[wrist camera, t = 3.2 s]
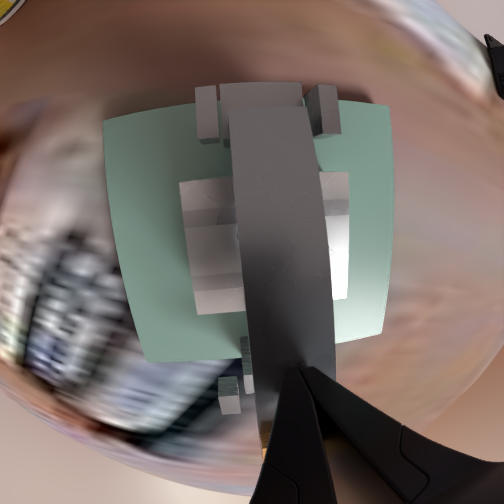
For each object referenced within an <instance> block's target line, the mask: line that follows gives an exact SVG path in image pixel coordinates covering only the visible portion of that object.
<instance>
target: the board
mask: <svg viewBox="0 0 504 504" xmlns="http://www.w3.org/2000/svg"><path fill="white" fill-rule="evenodd" d="M217 101H218V116H219V131H220V143H215V144H206V145H202V144H201V142H200V141H199V140H198V135H197V119H196V103H190V104H183V105H176V106H169V107H163V108H158V109H152V110H147V111H142V112H137V113H132V114H128V115H123V116H119V117H115V118H111V119H107V120H103V143H104V159H105V171H106V181H107V191H108V199H109V206H110V213H111V220H112V226H113V232H114V238H115V244H116V249H117V254H118V259H119V264H120V268H121V273H122V277H123V282H124V286H125V290H126V294H127V298H128V302H129V305H130V309H131V313H132V316H133V320H134V323H135V327H136V330H137V333H138V337H139V340H140V343H141V346H142V349H143V352H144V355H145V358H146V361H147V362H181V361H202V360H217V359H229V358H240V357H242V356H241V346H240V337H244V336H248V331H247V322H246V312H245V311H237V312H226V313H215V314H202V315H197V309H196V303H195V297H194V292H193V286H192V279H191V273H190V266H189V259H188V252H187V245H186V238H185V230H184V222H183V214H182V204H181V195H180V185H179V183H180V182H184V181H188V180H195V179H204V178H213V177H224V176H233V175H232V163H231V151H230V147H224V144H223V131H222V117H221V102H220V100H217ZM338 103H339V113H340V123H341V134H340V135H337V136H333V137H329V138H326V139H313V141H314V146H315V152H316V157H317V163H318V169H319V171H338V172H348V177H349V256H348V277H347V293H346V298H339V299H333V306H334V326H335V344H336V343H341V342H346V341H351V340H355V339H360V338H364V337H369V336H373V335H377V334H381V332H382V326H383V320H384V314H385V308H386V301H387V294H388V286H389V277H390V268H391V257H392V243H393V224H394V162H393V143H392V130H391V120H390V111H389V106H385V105H379V104H371V103H364V102H355V101H345V100H338ZM303 104H304V107H305V103H304V98H303Z"/></svg>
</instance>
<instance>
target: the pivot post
mask: <svg viewBox="0 0 504 504" xmlns="http://www.w3.org/2000/svg"><path fill="white" fill-rule="evenodd" d="M219 86H220V102H221V117H222V131H223V144H224V147H230V139H229V126H228V109H230V108H245V107H274V106H297V107H304V104H303V94H302V85H301V82H242V83H226V84H219ZM195 102H196V119H197V135H198V140H199V141H200V142H201V144H202V145H206V144H215V143H220V131H219V116H218V101H217V91H216V85H212V86H203V87H195ZM304 103H305V107H307V110H308V115H309V120H310V125H311V130H312V135H313V139H326V138H329V137H333V136H337V135H340V134H341V123H340V113H339V103H338V95H337V87H336V85H325V84H317V85H316V86H315V87H314V88H313V89H312V90H311V91H309V92H308V93H307V94H306V95H305V96H304Z"/></svg>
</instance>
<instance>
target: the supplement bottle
mask: <svg viewBox="0 0 504 504" xmlns="http://www.w3.org/2000/svg"><path fill="white" fill-rule="evenodd" d="M24 2H25V0H0V25H1V24H3V23H4V22H6V21H7V20H8V19H9V18H10V17H11V16H12V15H13V14H14V13H15V12H16V11H17V10H18V9H19V8H20V7H21V5H22V4H23V3H24Z"/></svg>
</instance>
